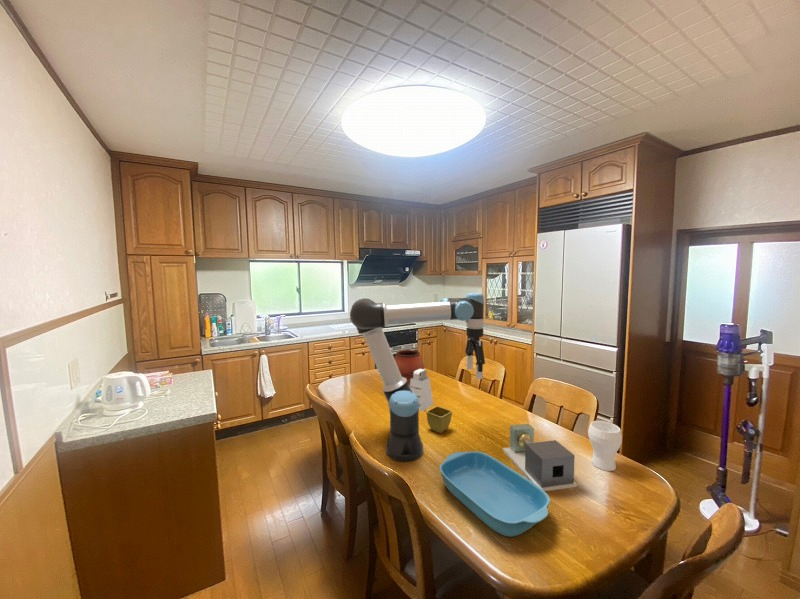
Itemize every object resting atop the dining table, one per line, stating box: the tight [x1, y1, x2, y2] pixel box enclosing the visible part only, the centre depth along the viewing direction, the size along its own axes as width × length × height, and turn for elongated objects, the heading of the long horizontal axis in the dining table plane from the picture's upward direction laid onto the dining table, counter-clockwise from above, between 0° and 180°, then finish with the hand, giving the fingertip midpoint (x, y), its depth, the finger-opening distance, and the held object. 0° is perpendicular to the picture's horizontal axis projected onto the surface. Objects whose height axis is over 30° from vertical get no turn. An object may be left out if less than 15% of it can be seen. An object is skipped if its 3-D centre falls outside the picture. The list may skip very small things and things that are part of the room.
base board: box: [502, 446, 578, 492], centre depth 121 cm, size 26×14×1 cm, turn 10°
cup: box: [587, 420, 623, 472], centre depth 121 cm, size 11×11×15 cm
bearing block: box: [525, 439, 575, 488], centre depth 114 cm, size 10×12×10 cm
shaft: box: [509, 423, 535, 452], centre depth 124 cm, size 18×8×9 cm, turn 10°
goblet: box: [394, 349, 425, 388], centre depth 197 cm, size 19×19×25 cm
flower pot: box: [426, 405, 453, 434], centre depth 150 cm, size 9×9×9 cm
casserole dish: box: [439, 450, 551, 538], centre depth 104 cm, size 37×22×7 cm, turn 32°
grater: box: [410, 368, 434, 412], centre depth 177 cm, size 10×10×20 cm
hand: (474, 373), depth 147 cm, fingers open, 13 cm apart
